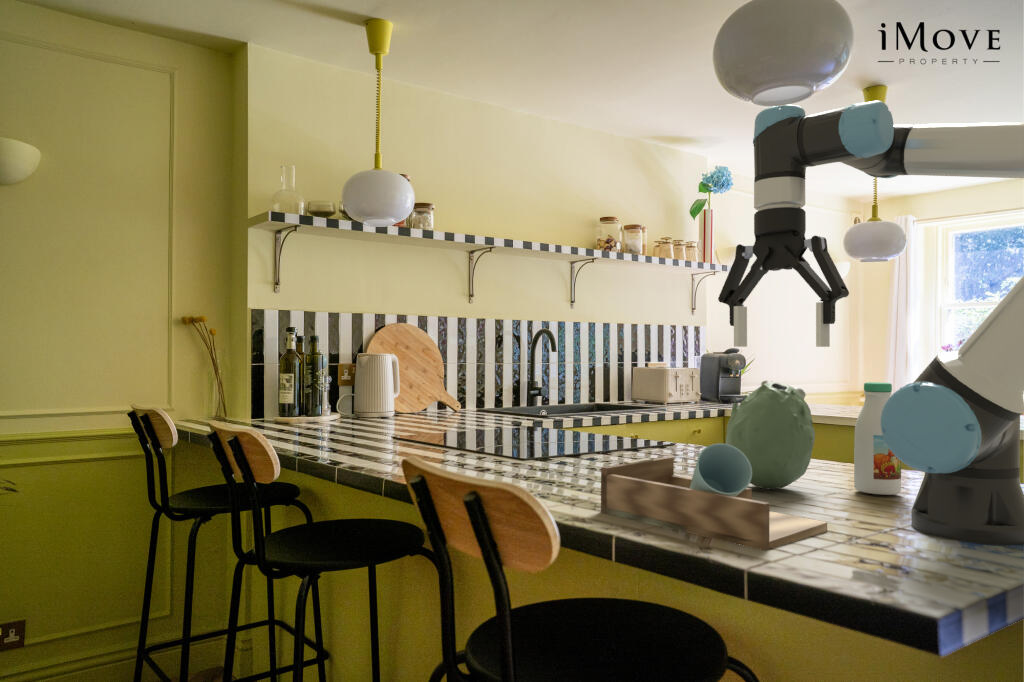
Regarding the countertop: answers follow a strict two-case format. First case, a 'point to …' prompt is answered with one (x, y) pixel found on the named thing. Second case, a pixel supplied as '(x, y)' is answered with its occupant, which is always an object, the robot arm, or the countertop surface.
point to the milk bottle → (874, 446)
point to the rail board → (696, 506)
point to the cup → (722, 470)
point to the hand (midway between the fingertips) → (779, 347)
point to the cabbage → (773, 434)
